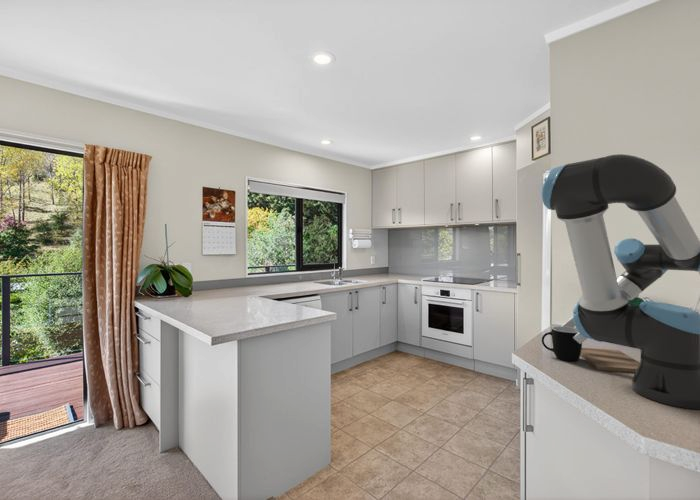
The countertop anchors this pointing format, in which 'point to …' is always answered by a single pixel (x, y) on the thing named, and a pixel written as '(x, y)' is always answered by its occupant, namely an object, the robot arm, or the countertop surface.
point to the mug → (564, 343)
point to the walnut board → (609, 360)
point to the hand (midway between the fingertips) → (569, 335)
